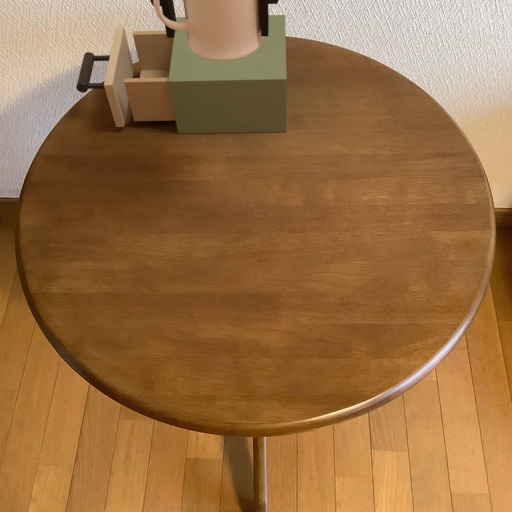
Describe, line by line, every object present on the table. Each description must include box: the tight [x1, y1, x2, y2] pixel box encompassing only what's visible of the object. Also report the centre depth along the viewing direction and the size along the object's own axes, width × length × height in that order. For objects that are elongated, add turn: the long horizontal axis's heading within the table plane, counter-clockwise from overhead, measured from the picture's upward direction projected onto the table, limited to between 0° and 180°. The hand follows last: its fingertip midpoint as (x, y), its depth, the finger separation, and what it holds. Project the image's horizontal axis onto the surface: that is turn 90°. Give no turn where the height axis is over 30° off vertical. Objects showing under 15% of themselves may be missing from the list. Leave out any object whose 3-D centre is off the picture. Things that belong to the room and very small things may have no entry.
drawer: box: [75, 26, 176, 128], centre depth 92 cm, size 20×13×8 cm, turn 89°
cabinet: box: [168, 14, 288, 135], centre depth 92 cm, size 16×14×10 cm
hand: (218, 29), depth 68 cm, fingers closed on mug, 9 cm apart
